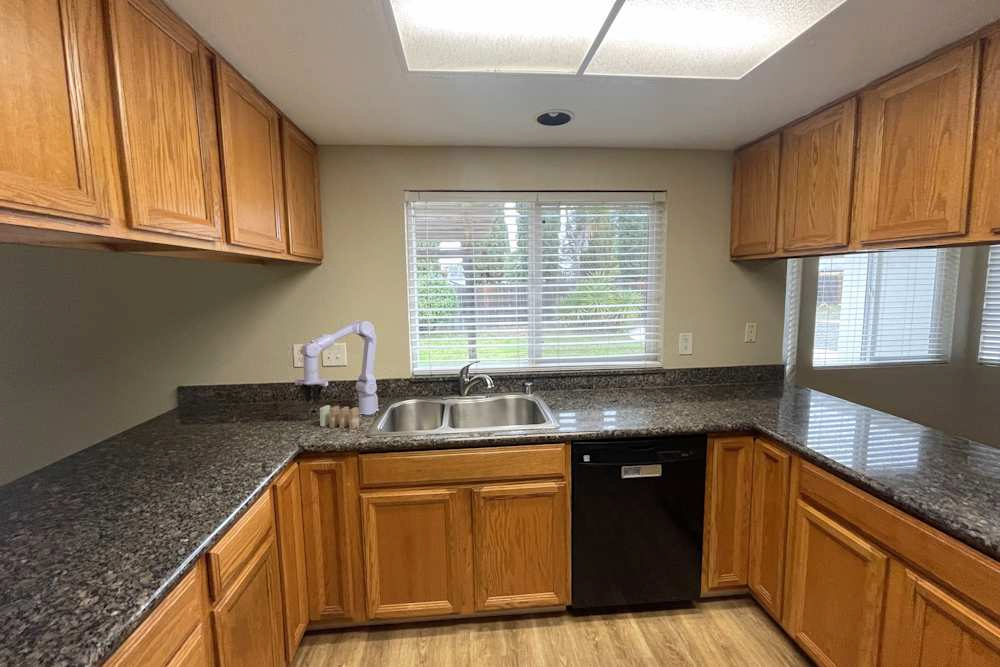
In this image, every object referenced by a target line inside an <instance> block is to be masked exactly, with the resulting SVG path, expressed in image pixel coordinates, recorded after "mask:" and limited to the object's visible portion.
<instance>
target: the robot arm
mask: <svg viewBox="0 0 1000 667" xmlns="http://www.w3.org/2000/svg"><path fill="white" fill-rule="evenodd" d="M350 334H355V335H358V336H359V337H361V339H362V340H363V341H364V345H363V355H362V365H361V374H360V375H359V376H358V378H357V382H356V383H355V388H356V391H357V392H358V407H359V415H361V414H365V416H371V414H372V415H373V414H375V413H376V411H377V412H378V411H380V410H379V409H380V408H379V397H378V395H377V393H376V392H377V390H378V386H377V379H376V377H375V375H374V372H375V371H374V370H375V363H376V362H375V361H376V352H377V342H378V341H377V340H378V337H377V334H376V332H375V325H373V324H372V323H371V322H370V321H365V320H364V321H363V320H359V319H357V320H354V321H353V322H349V323H348V324H346V325H345V326H343V327H341V328H340V329H338V330H336V331H334V332H332V333H331V334H329V333H322V334H321V335H320V337H317V338H316V339H311V340H310V342H305V343H303V345H302V346H301V349H300V353H301V354H302V357H303V361H302V362H303V365H302V366H303V379H296V380H294V382H295V383H294V386H299V385H301V386H300V387H299V389H300V390H301V391H302V393H303V395H304V398H305V401H306V403H309V402H311V401H312V398H313V403H318V402H319V398H320V395H321V391H322V390H323V388H324V387H327V386H329V381H328V380H322V379H319V378H320V377H319V375H320V374H319V358H318V356H319V355H320V353H321V352H324V351H325V350H327V349H328V348H330V347H333V346H334V344H335V341H338V340H340V339H341V338H344V337H346V336H349V335H350Z"/></svg>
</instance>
